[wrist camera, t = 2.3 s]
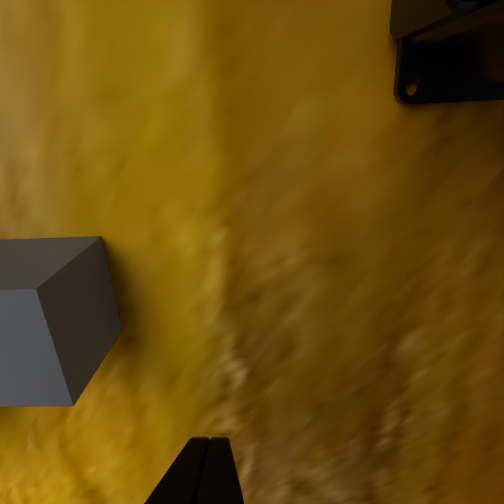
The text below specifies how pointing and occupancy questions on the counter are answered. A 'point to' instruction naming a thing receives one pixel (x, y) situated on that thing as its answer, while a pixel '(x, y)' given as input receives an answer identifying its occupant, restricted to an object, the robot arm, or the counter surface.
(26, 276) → the plug
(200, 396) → the counter surface
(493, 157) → the counter surface
